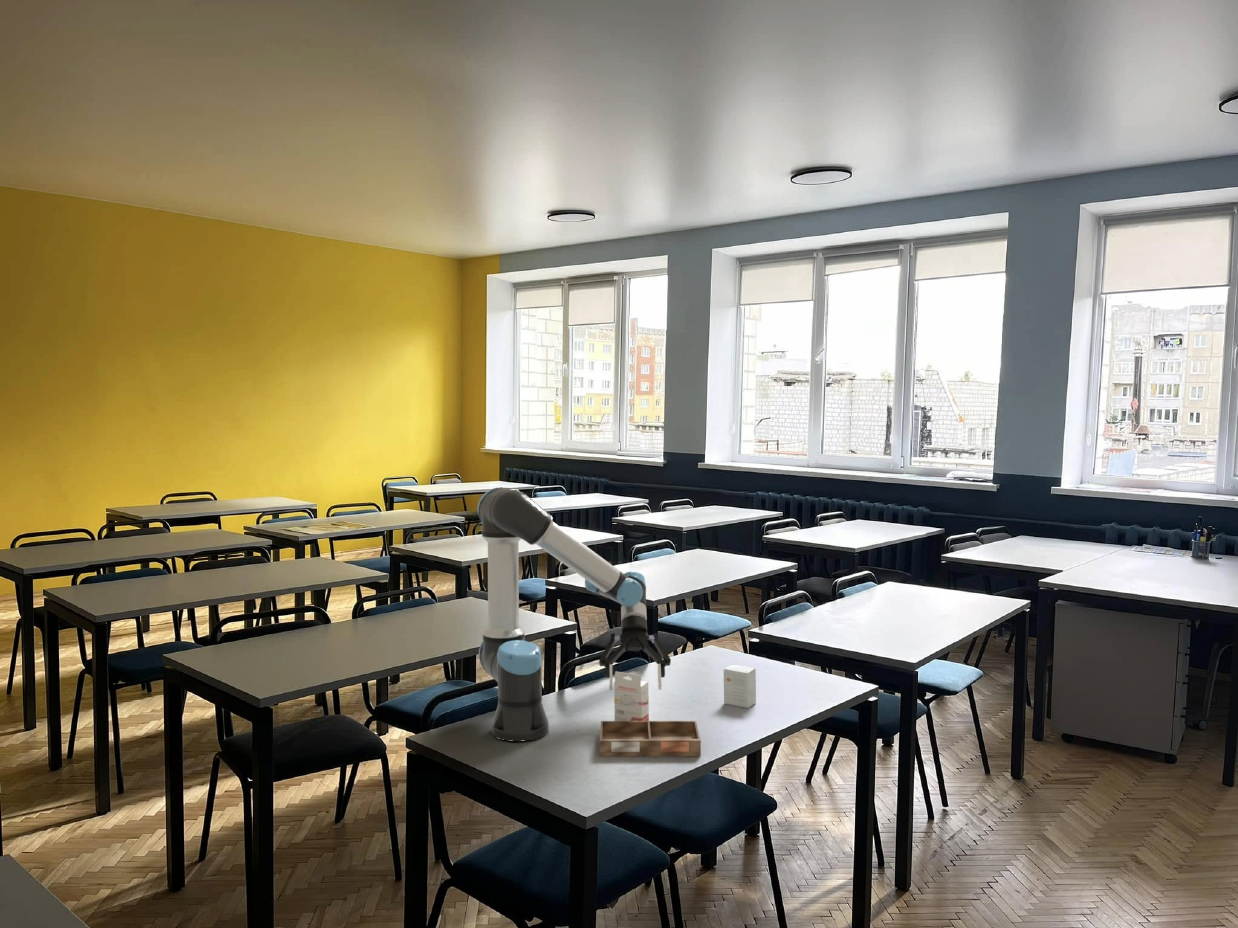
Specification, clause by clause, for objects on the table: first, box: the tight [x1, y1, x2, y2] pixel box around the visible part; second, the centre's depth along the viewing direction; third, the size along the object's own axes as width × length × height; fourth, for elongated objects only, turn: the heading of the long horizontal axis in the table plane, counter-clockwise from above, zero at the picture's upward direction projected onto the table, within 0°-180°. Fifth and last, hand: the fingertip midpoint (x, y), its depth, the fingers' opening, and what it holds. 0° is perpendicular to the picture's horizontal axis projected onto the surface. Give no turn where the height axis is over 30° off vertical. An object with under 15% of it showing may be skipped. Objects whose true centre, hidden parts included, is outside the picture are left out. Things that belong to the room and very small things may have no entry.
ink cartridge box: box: [613, 670, 650, 721], centre depth 231 cm, size 9×5×15 cm, turn 62°
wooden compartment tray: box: [599, 720, 702, 757], centre depth 215 cm, size 25×14×4 cm, turn 90°
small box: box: [723, 664, 757, 709], centre depth 247 cm, size 8×6×10 cm
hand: (635, 687), depth 233 cm, fingers open, 13 cm apart
